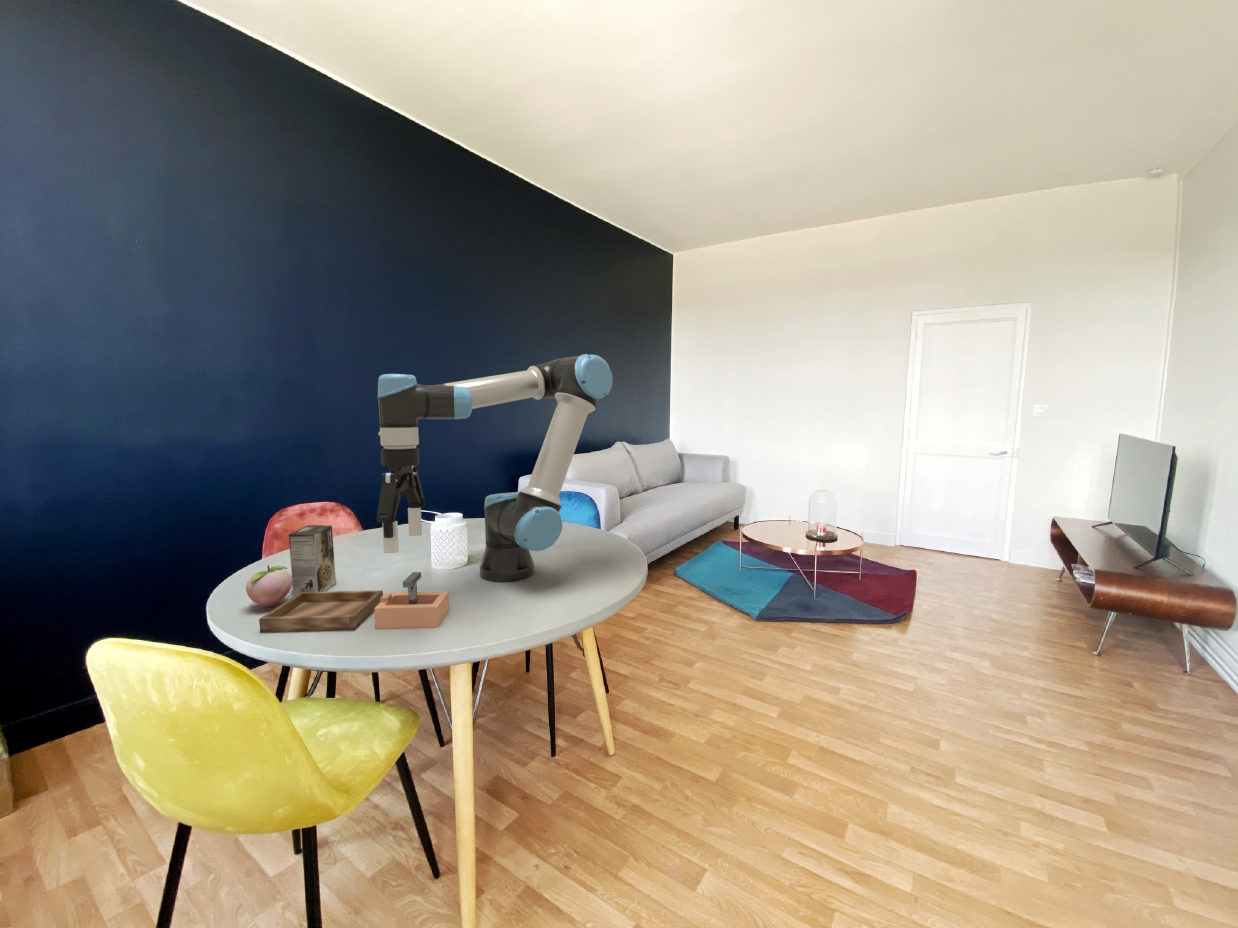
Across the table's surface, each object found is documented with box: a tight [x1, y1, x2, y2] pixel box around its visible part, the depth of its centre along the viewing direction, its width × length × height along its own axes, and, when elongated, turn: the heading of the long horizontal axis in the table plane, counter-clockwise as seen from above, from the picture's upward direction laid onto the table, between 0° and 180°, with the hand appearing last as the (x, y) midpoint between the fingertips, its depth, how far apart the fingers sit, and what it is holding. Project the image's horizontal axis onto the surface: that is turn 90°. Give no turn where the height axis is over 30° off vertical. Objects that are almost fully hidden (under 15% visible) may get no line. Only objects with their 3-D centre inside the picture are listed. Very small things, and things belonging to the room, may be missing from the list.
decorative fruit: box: [245, 564, 293, 607], centre depth 115 cm, size 9×8×10 cm
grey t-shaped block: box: [402, 571, 422, 605], centre depth 109 cm, size 2×6×10 cm, turn 4°
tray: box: [258, 590, 384, 634], centre depth 110 cm, size 19×15×3 cm
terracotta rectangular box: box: [373, 591, 450, 630], centre depth 109 cm, size 13×9×6 cm
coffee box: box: [288, 524, 337, 597], centre depth 125 cm, size 9×6×16 cm
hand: (404, 543), depth 108 cm, fingers open, 13 cm apart
